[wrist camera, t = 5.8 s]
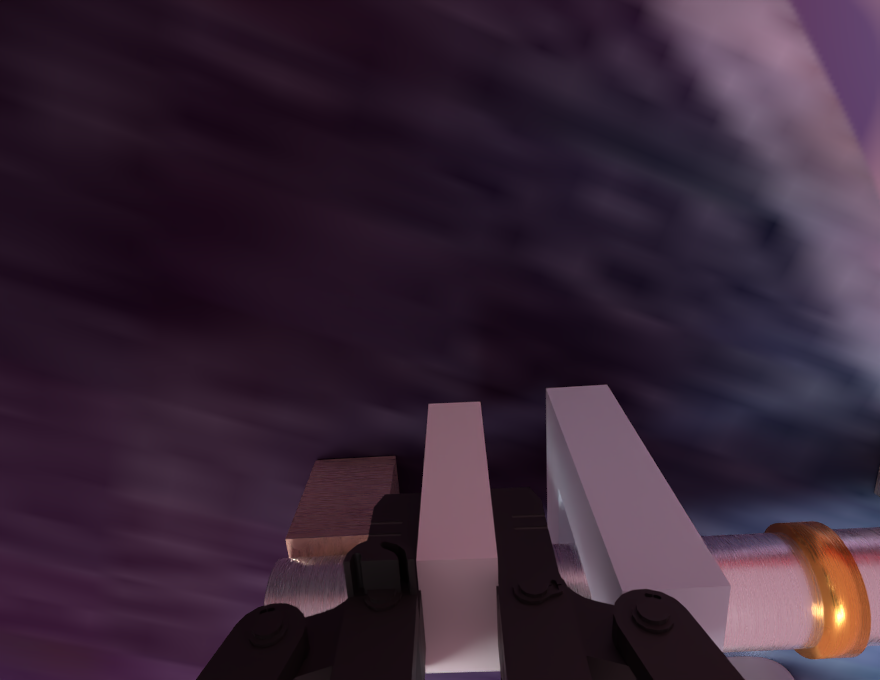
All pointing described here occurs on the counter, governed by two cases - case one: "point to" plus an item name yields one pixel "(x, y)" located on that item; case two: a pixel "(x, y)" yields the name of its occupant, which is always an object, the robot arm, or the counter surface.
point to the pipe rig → (739, 557)
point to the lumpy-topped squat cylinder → (760, 668)
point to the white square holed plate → (624, 510)
